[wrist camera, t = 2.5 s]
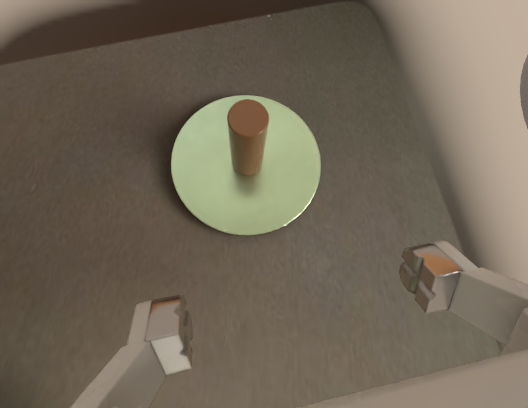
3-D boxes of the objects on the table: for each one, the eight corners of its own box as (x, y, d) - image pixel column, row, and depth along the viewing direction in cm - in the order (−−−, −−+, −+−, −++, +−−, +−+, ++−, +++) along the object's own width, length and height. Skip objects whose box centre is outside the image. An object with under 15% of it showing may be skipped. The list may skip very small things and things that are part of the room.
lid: (279, 83, 27) (292, 9, 20) (343, 200, 25) (385, 165, 17) (152, 132, 25) (114, 70, 18) (208, 263, 23) (191, 253, 16)
